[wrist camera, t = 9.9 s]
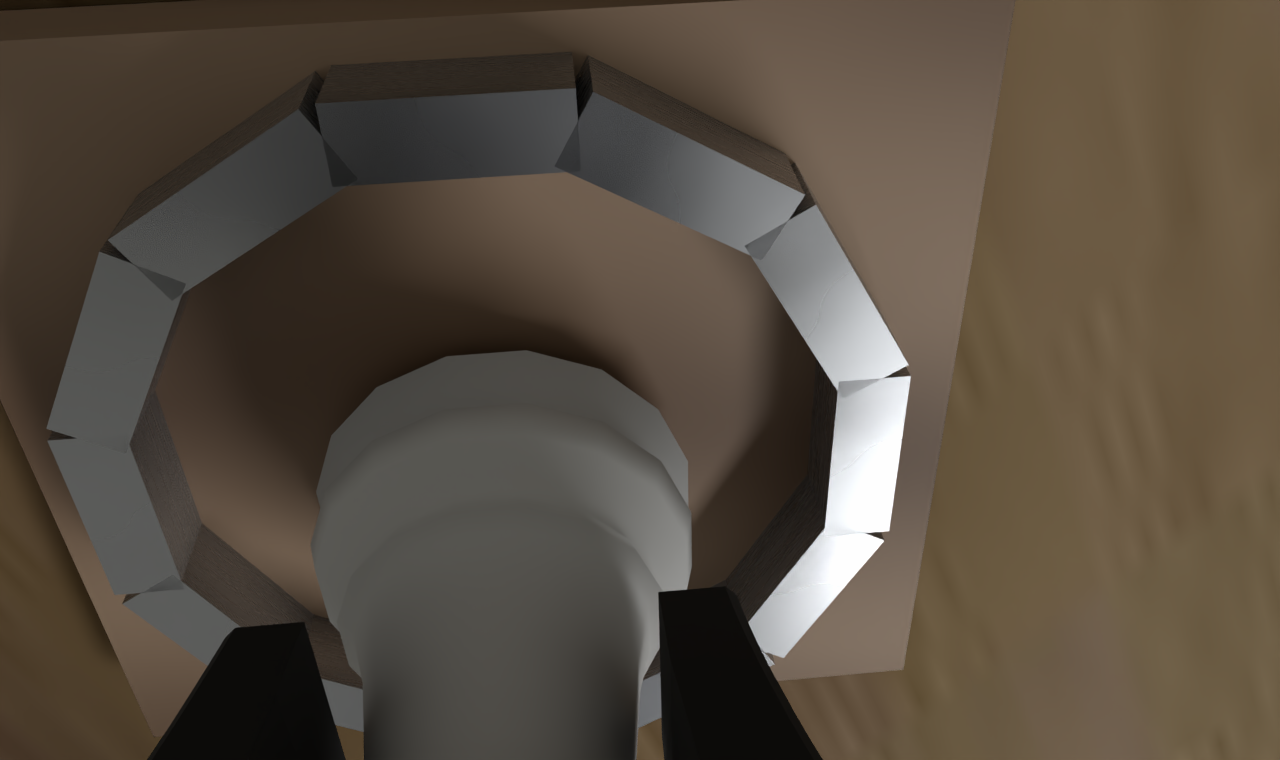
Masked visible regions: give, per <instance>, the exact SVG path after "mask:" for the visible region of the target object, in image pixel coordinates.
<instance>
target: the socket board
mask: <svg viewBox="0 0 1280 760" xmlns="http://www.w3.org/2000/svg"><path fill="white" fill-rule="evenodd" d="M1014 6H1015V0H194V1H176V2H157V3H138V4H119V5H101V6H82V7H63V8H45V9H26V10H7V11H0V400H1V403H2V405H3V407H4V409H5V411H6V414H7V416H8V418H9V420H10V422H11V425H12V427H13V429H14V431H15V433H16V436H17V438H18V440H19V442H20V444H21V447H22V449H23V451H24V453H25V455H26V458H27V460H28V462H29V464H30V466H31V469H32V471H33V473H34V475H35V477H36V479H37V482H38V484H39V486H40V488H41V490H42V493H43V495H44V497H45V499H46V501H47V504H48V506H49V508H50V510H51V512H52V515H53V517H54V519H55V521H56V523H57V526H58V528H59V530H60V532H61V534H62V537H63V539H64V541H65V543H66V545H67V548H68V550H69V552H70V554H71V556H72V559H73V561H74V563H75V565H76V567H77V570H78V572H79V574H80V576H81V578H82V580H83V583H84V585H85V587H86V589H87V591H88V594H89V596H90V598H91V600H92V602H93V605H94V607H95V609H96V611H97V613H98V616H99V618H100V620H101V622H102V624H103V627H104V629H105V631H106V633H107V635H108V638H109V640H110V642H111V644H112V646H113V649H114V651H115V653H116V655H117V657H118V660H119V662H120V664H121V666H122V668H123V671H124V673H125V675H126V677H127V679H128V682H129V684H130V686H131V688H132V690H133V692H134V695H135V697H136V699H137V701H138V703H139V706H140V708H141V710H142V712H143V714H144V717H145V719H146V721H147V723H148V725H149V728H150V730H151V732H152V734H153V736H154V737H159V736H163V735H164V734H165V732H166V731H167V729H168V728H169V726H170V724H171V723H172V721H173V720H174V718H175V717H176V715H177V714H178V712H179V710H180V709H181V707H182V706H183V704H184V703H185V701H186V699H187V698H188V696H189V695H190V693H191V692H192V690H193V688H194V687H195V685H196V684H197V682H198V680H199V679H200V677H201V676H202V674H203V673H204V671H205V669H206V668H207V666H208V665H209V663H210V661H211V660H212V658H213V656H214V655H215V653H216V652H217V650H218V648H219V647H220V645H221V644H222V642H223V640H224V639H225V637H226V636H227V635H228V634H229V633H230V632H231V631H232V630H233V629H234V628H237V627H249V626H261V625H273V624H285V623H297V622H305V626H306V629H307V632H308V636H309V639H310V642H311V646H312V649H313V652H314V656H315V659H316V662H317V666H318V669H319V672H320V676H321V679H322V682H323V686H324V689H325V692H326V696H327V699H328V702H329V706H330V709H331V712H332V716H333V719H334V722H335V725H338V726H342V727H346V728H350V729H354V730H358V731H362V732H364V729H363V683H362V678H361V677H360V676H359V675H358V674H357V673H356V672H355V671H354V670H353V669H352V668H351V667H350V666H349V664H348V660H347V656H346V653H345V649H344V646H343V642H342V639H341V635H340V632H339V631H338V630H337V629H336V628H335V627H334V626H333V624H332V623H331V622H330V621H329V617H328V614H327V611H326V607H325V604H324V600H323V597H322V593H321V590H320V586H319V583H318V579H317V576H316V572H315V568H314V562H313V557H312V551H311V545H310V544H311V540H312V537H313V533H314V529H315V526H316V522H317V518H318V515H319V511H320V505H319V501H318V497H317V494H316V490H317V487H318V483H319V479H320V475H321V472H322V468H323V464H324V461H325V457H326V453H327V449H328V446H329V442H330V438H331V435H332V434H333V433H334V432H335V431H336V430H337V429H338V428H339V427H340V426H341V425H342V424H343V423H344V422H345V420H346V419H347V418H348V417H349V416H350V415H351V414H352V413H353V412H354V411H355V410H356V409H357V408H358V407H359V406H360V404H361V403H362V402H363V401H364V400H365V399H366V398H367V397H368V396H369V395H370V394H371V393H372V392H373V391H374V390H375V388H376V387H378V386H380V385H383V384H385V383H387V382H389V381H392V380H394V379H396V378H398V377H401V376H403V375H405V374H407V373H410V372H412V371H414V370H417V369H419V368H421V367H423V366H426V365H428V364H430V363H432V362H435V361H437V360H439V359H441V358H444V357H446V356H457V355H471V354H484V353H497V352H510V351H523V350H528V351H532V352H535V353H539V354H543V355H547V356H551V357H555V358H559V359H563V360H567V361H570V362H574V363H578V364H582V365H586V366H590V367H594V368H598V369H601V370H603V371H605V372H606V373H607V374H609V375H610V376H612V377H613V378H614V379H616V380H617V381H619V382H620V383H622V384H623V385H624V386H626V387H627V388H629V389H630V390H631V391H633V392H634V393H636V394H637V395H639V396H640V397H641V398H643V399H644V400H646V401H647V402H648V403H650V404H651V405H653V406H654V407H655V408H657V409H658V410H659V412H660V413H661V415H662V417H663V419H664V420H665V422H666V424H667V426H668V427H669V429H670V431H671V433H672V434H673V436H674V438H675V440H676V441H677V443H678V445H679V447H680V448H681V450H682V452H683V454H684V455H685V457H686V459H687V461H688V507H689V509H690V511H691V527H692V568H691V573H690V577H689V582H688V587H687V589H699V588H711V587H722V586H726V587H727V588H728V589H730V590H731V591H732V592H734V593H735V594H737V596H738V599H739V602H740V604H741V607H742V609H743V612H744V614H745V616H746V619H747V621H748V623H749V625H750V627H751V630H752V632H753V634H754V636H755V638H756V640H757V643H758V645H759V647H760V649H761V651H762V653H763V655H764V657H765V659H766V661H767V663H768V665H769V666H770V668H771V670H772V672H773V674H774V676H775V678H776V680H777V681H783V680H794V679H805V678H816V677H827V676H838V675H849V674H860V673H872V672H883V671H894V670H903V668H904V662H905V656H906V650H907V644H908V638H909V632H910V626H911V620H912V614H913V608H914V602H915V596H916V590H917V585H918V579H919V573H920V567H921V561H922V555H923V549H924V543H925V537H926V531H927V525H928V519H929V513H930V507H931V501H932V495H933V489H934V483H935V477H936V471H937V465H938V459H939V453H940V447H941V441H942V435H943V429H944V423H945V417H946V411H947V405H948V400H949V394H950V388H951V382H952V376H953V370H954V364H955V358H956V352H957V346H958V340H959V334H960V328H961V322H962V316H963V310H964V304H965V298H966V292H967V286H968V280H969V274H970V268H971V262H972V256H973V250H974V244H975V238H976V232H977V226H978V220H979V215H980V209H981V203H982V197H983V191H984V185H985V179H986V173H987V167H988V161H989V155H990V149H991V143H992V137H993V131H994V125H995V119H996V113H997V107H998V101H999V95H1000V89H1001V83H1002V77H1003V71H1004V65H1005V59H1006V53H1007V47H1008V41H1009V35H1010V30H1011V24H1012V18H1013V12H1014ZM661 717H662V716H661V678H660V648H659V650H658V652H657V653H656V655H655V657H654V659H653V661H652V663H651V664H650V666H649V668H648V670H647V672H646V674H645V675H644V677H643V682H642V686H641V691H640V702H639V720H638V728H639V727H641V726H644V725H646V724H648V723H650V722H652V721H654V720H656V719H659V718H661Z"/></svg>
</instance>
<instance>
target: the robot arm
mask: <svg viewBox="0 0 1280 760" xmlns="http://www.w3.org/2000/svg"><path fill="white" fill-rule="evenodd" d="M658 602H659V640H660V678H661V716H662V740H663V749H664V759H665V760H823V759H822V758H821V756H820V754H819V753H818V751H817V750H816V748H815V746H814V745H813V743H812V742H811V740H810V738H809V737H808V735H807V733H806V731H805V730H804V728H803V726H802V725H801V723H800V721H799V719H798V718H797V716H796V714H795V713H794V711H793V709H792V707H791V705H790V703H789V702H788V700H787V698H786V696H785V694H784V693H783V691H782V689H781V687H780V685H779V683H778V682H777V680H776V678H775V676H774V674H773V672H772V670H771V668H770V666H769V665H768V663H767V661H766V659H765V657H764V655H763V653H762V651H761V649H760V647H759V645H758V643H757V640H756V638H755V636H754V634H753V632H752V630H751V627H750V625H749V623H748V621H747V619H746V616H745V614H744V612H743V609H742V607H741V604H740V602H739V599H738V596H737V594H735V593H734V592H732V591H731V590H730V589H728V588H727V587H726V586H722V587H711V588H699V589H687V590H675V591H663V592H658ZM147 760H346V759H345V756H344V752H343V749H342V746H341V742H340V739H339V736H338V732H337V729H336V726H335V722H334V719H333V716H332V712H331V709H330V706H329V702H328V699H327V696H326V692H325V689H324V686H323V682H322V679H321V676H320V672H319V669H318V666H317V662H316V659H315V656H314V652H313V649H312V646H311V642H310V639H309V636H308V632H307V629H306V626H305V622H297V623H285V624H273V625H261V626H249V627H237V628H234V629H233V630H232V631H231V632H230V633H229V634H228V635H227V636H226V637H225V639H224V640H223V642H222V644H221V645H220V647H219V648H218V650H217V652H216V653H215V655H214V656H213V658H212V660H211V661H210V663H209V665H208V666H207V668H206V669H205V671H204V673H203V674H202V676H201V677H200V679H199V680H198V682H197V684H196V685H195V687H194V688H193V690H192V692H191V693H190V695H189V696H188V698H187V699H186V701H185V703H184V704H183V706H182V707H181V709H180V710H179V712H178V714H177V715H176V717H175V718H174V720H173V721H172V723H171V724H170V726H169V728H168V729H167V731H166V732H165V734H164V735H163V737H162V738H161V740H160V741H159V743H158V744H157V746H156V747H155V749H154V750H153V752H152V753H151V755H150V756H149V758H148V759H147Z"/></svg>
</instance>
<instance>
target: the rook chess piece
mask: <svg viewBox="0 0 1280 760" xmlns="http://www.w3.org/2000/svg"><path fill="white" fill-rule="evenodd" d="M316 494H317V497H318V501H319V505H320V511H319V515H318V518H317V522H316V526H315V529H314V533H313V537H312V540H311V544H310V545H311V551H312V557H313V562H314V568H315V572H316V576H317V579H318V583H319V586H320V590H321V593H322V597H323V600H324V604H325V607H326V611H327V614H328V617H329V621H330V622H331V623H332V624H333V626H334V627H335V628H336V629H337V630H338V631H339V632H340V635H341V639H342V642H343V646H344V649H345V653H346V656H347V660H348V664H349V666H350V667H351V668H352V669H353V670H354V671H355V672H356V673H357V674H358V675H359V676H360V677H361V678H362V683H363V729H364V760H636V755H637V737H638V720H639V702H640V691H641V686H642V682H643V677H644V675H645V674H646V672H647V670H648V668H649V666H650V664H651V663H652V661H653V659H654V657H655V655H656V653H657V652H658V650H659V648H660V640H659V602H658V592H663V591H675V590H687V587H688V582H689V577H690V573H691V568H692V527H691V511H690V509H689V507H688V461H687V459H686V457H685V455H684V454H683V452H682V450H681V448H680V447H679V445H678V443H677V441H676V440H675V438H674V436H673V434H672V433H671V431H670V429H669V427H668V426H667V424H666V422H665V420H664V419H663V417H662V415H661V413H660V412H659V410H658V409H657V408H655V407H654V406H653V405H651V404H650V403H648V402H647V401H646V400H644V399H643V398H641V397H640V396H639V395H637V394H636V393H634V392H633V391H631V390H630V389H629V388H627V387H626V386H624V385H623V384H622V383H620V382H619V381H617V380H616V379H614V378H613V377H612V376H610V375H609V374H607V373H606V372H605V371H603V370H601V369H598V368H594V367H590V366H586V365H582V364H578V363H574V362H570V361H567V360H563V359H559V358H555V357H551V356H547V355H543V354H539V353H535V352H532V351H528V350H523V351H510V352H497V353H484V354H471V355H457V356H446V357H444V358H441V359H439V360H437V361H435V362H432V363H430V364H428V365H426V366H423V367H421V368H419V369H417V370H414V371H412V372H410V373H407V374H405V375H403V376H401V377H398V378H396V379H394V380H392V381H389V382H387V383H385V384H383V385H380V386H378V387H376V388H375V390H374V391H373V392H372V393H371V394H370V395H369V396H368V397H367V398H366V399H365V400H364V401H363V402H362V403H361V404H360V406H359V407H358V408H357V409H356V410H355V411H354V412H353V413H352V414H351V415H350V416H349V417H348V418H347V419H346V420H345V422H344V423H343V424H342V425H341V426H340V427H339V428H338V429H337V430H336V431H335V432H334V433H333V434H332V435H331V438H330V442H329V446H328V449H327V453H326V457H325V461H324V464H323V468H322V472H321V475H320V479H319V483H318V487H317V490H316Z"/></svg>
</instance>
